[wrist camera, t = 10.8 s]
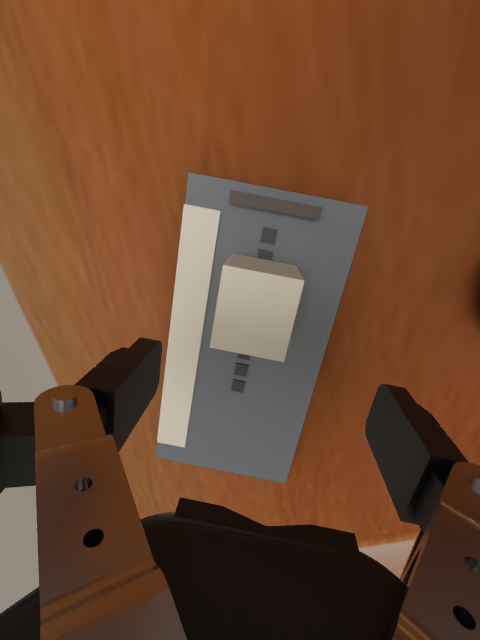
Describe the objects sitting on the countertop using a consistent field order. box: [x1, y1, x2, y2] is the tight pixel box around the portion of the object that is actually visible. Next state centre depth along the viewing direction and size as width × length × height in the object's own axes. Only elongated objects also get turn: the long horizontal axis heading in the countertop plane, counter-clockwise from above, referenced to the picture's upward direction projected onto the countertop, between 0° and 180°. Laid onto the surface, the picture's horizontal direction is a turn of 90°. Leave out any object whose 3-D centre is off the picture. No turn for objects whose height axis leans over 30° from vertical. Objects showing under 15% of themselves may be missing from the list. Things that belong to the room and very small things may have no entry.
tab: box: [210, 253, 304, 362], centre depth 20 cm, size 4×5×5 cm
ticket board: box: [156, 172, 368, 484], centre depth 25 cm, size 12×24×2 cm, turn 170°
